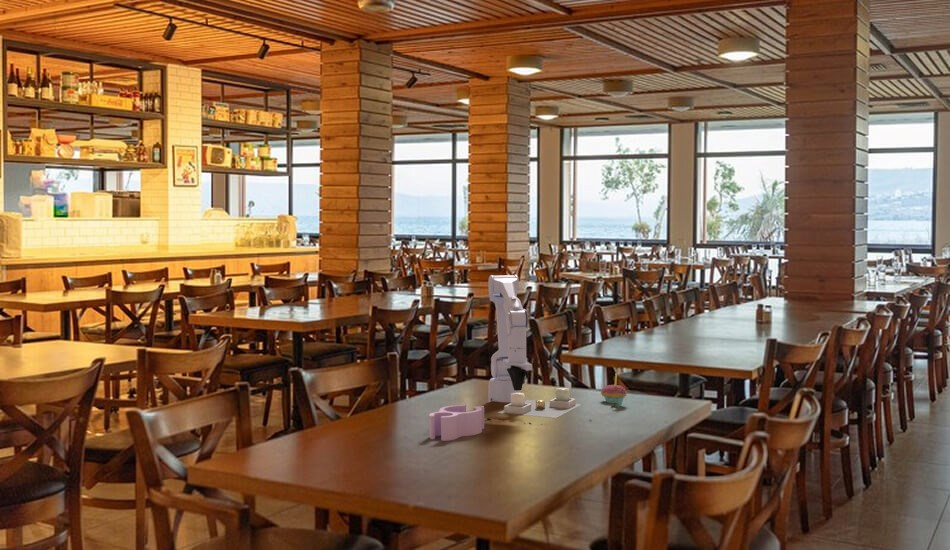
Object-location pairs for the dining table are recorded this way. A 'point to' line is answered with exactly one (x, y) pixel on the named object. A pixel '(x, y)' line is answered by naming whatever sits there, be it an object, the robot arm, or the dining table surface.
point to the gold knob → (540, 404)
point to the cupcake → (614, 393)
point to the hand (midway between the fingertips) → (517, 390)
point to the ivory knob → (517, 399)
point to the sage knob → (562, 394)
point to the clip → (456, 422)
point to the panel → (551, 409)
